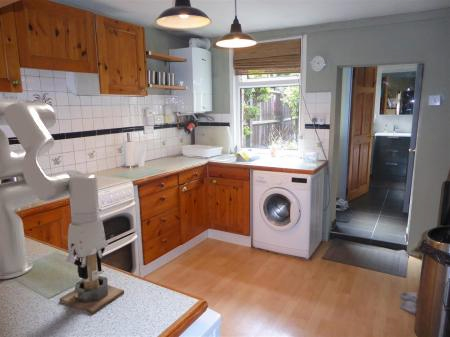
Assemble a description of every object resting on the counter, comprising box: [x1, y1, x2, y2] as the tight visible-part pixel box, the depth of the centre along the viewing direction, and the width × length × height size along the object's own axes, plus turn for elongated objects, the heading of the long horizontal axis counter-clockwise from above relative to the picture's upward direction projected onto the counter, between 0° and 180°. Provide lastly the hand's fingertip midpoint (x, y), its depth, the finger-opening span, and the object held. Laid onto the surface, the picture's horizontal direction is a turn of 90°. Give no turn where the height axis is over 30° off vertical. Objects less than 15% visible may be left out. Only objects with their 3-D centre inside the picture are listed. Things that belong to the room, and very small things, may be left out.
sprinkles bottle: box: [82, 248, 100, 290], centre depth 99 cm, size 5×5×14 cm
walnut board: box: [59, 284, 125, 315], centre depth 101 cm, size 14×12×1 cm
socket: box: [74, 275, 109, 303], centre depth 100 cm, size 9×11×4 cm
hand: (90, 273), depth 99 cm, fingers closed on sprinkles bottle, 4 cm apart
